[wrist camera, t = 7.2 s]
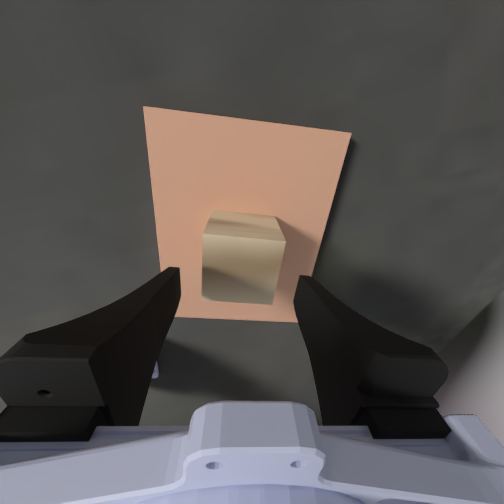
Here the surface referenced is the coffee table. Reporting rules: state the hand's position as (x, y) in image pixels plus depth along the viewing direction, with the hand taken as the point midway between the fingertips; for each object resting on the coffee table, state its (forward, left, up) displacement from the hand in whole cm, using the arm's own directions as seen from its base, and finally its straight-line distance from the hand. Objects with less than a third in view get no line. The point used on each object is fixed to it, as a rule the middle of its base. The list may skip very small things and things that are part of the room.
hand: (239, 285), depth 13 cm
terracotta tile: (0, 0, -7) cm, 7 cm away
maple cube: (0, 0, -6) cm, 6 cm away
